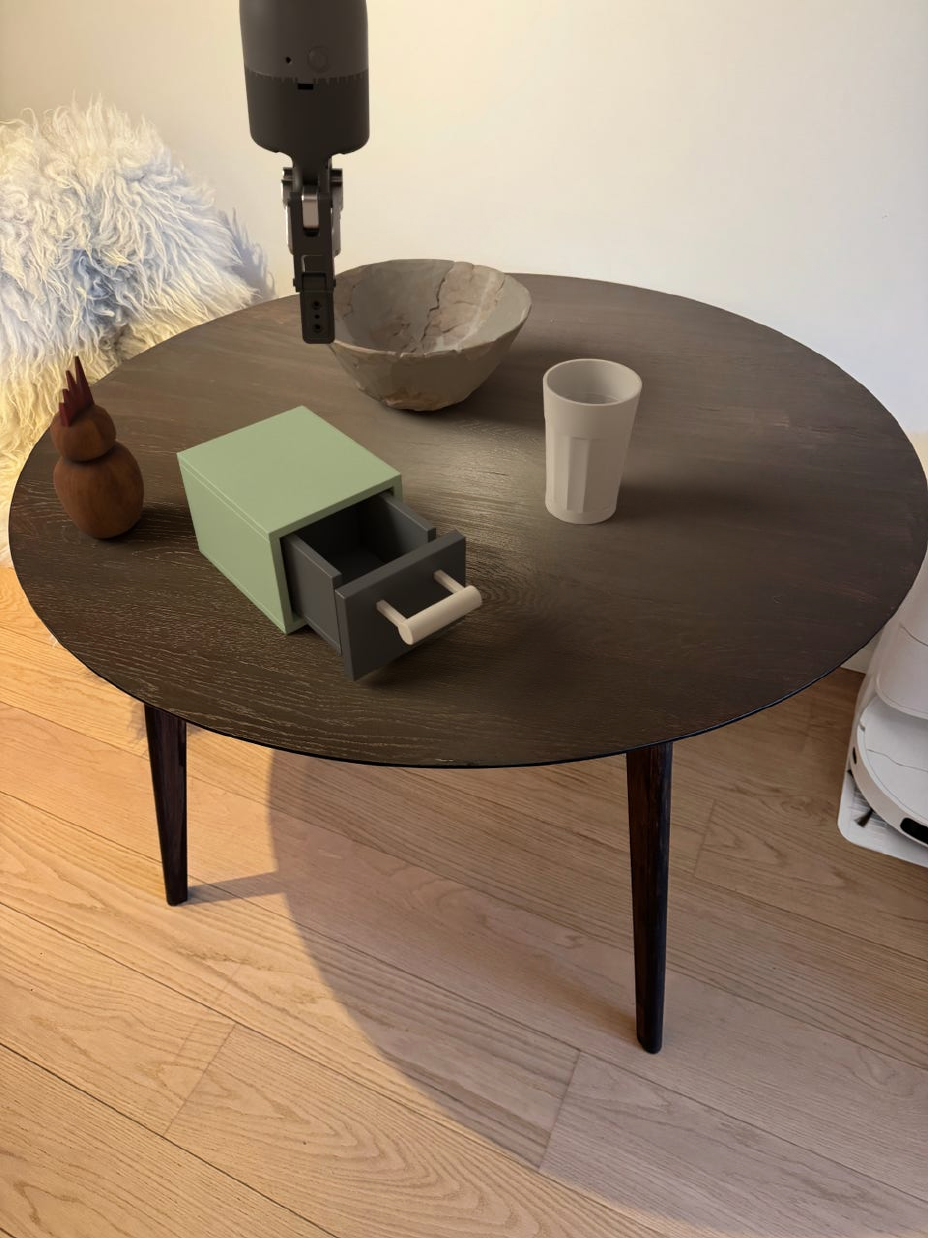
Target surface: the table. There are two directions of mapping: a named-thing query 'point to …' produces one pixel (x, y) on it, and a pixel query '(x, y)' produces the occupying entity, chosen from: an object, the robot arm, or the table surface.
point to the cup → (587, 436)
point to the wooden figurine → (93, 464)
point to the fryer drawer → (376, 580)
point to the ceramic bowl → (424, 328)
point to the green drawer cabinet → (274, 497)
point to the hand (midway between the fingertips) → (319, 315)
